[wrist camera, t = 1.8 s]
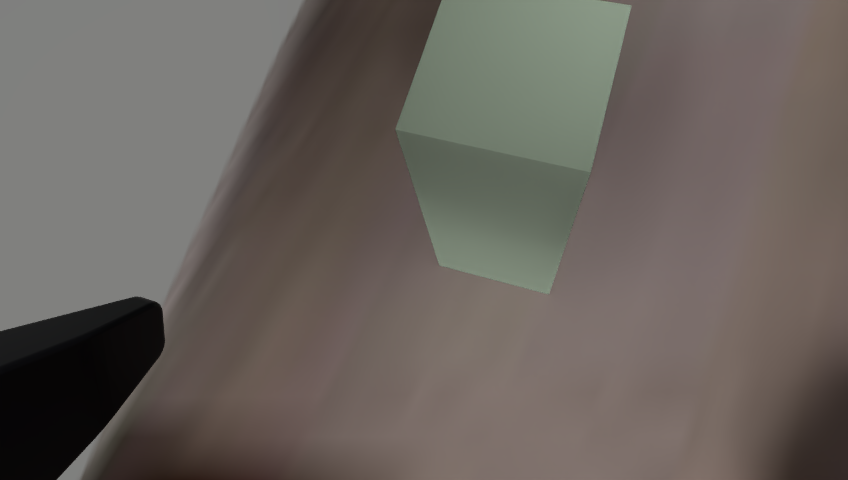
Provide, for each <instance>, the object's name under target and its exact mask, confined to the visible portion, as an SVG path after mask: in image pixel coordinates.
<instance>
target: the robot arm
mask: <svg viewBox="0 0 848 480" xmlns="http://www.w3.org/2000/svg"><path fill="white" fill-rule="evenodd" d="M164 344H165V335H164V324H163V312H162V308H161V306H160V304H158V303H157V302H155V301H151V300H148V299H145V298H142V297H132V298H128V299H124V300H120V301H116V302H112V303H108V304H105V305H101V306H97V307H93V308H89V309H85V310H81V311H78V312H73V313H70V314H66V315H62V316H58V317H54V318H50V319H47V320H42V321H38V322H35V323H31V324H27V325H23V326H19V327H15V328H11V329H7V330H4V331H0V480H57V479H58V477H59V476H60V475H61V474H62V473H63V472H64V471H65V470H66V469H67V468H68V467H69V466H70V465H71V464H72V462H73V461H74V460H75V459H76V458H77V457H78V456H79V455H80V454H81V453H82V452H83V451H84V450H85V448H86V447H87V446H88V445H89V444H90V443H91V442H92V441H93V440H94V439H95V438H96V437H97V435H98V434H99V433H100V432H101V431H102V430H103V429H104V428H105V426H106V425H107V424H108V423H109V421H110V420H111V419H112V418H113V416H114V415H115V414H116V413H117V411H118V410H119V409H120V407H121V406H122V405H123V403H124V402H125V401H126V400H127V398H128V397H129V396H130V394H131V393H132V392H133V390H134V389H135V388H136V386H137V385H138V384H139V383H140V381H141V380H142V379H143V377H144V376H145V375H146V373H147V372H148V371H149V370H150V368H151V367H152V366H153V364H154V363H155V362H156V360H157V359H158V358H159V356H160V355H161V353H162V351H163V348H164Z"/></svg>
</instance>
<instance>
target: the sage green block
mask: <svg viewBox="0 0 848 480" xmlns="http://www.w3.org/2000/svg"><path fill="white" fill-rule="evenodd" d="M631 6H632V5H625V4H619V3H613V2H606V1H600V0H442V1H441V4H440V6H439V9H438V12H437V15H436V18H435V20H434V23H433V26H432V29H431V31H430V34H429V37H428V40H427V43H426V45H425V48H424V51H423V54H422V57H421V59H420V62H419V65H418V68H417V70H416V73H415V76H414V79H413V82H412V84H411V87H410V90H409V93H408V96H407V98H406V101H405V104H404V107H403V109H402V112H401V115H400V118H399V121H398V123H397V126H396V129H395V130H396V133H397V136H398V139H399V142H400V146H401V149H402V152H403V155H404V158H405V161H406V164H407V167H408V170H409V173H410V176H411V180H412V183H413V186H414V189H415V192H416V195H417V198H418V201H419V204H420V207H421V210H422V214H423V217H424V220H425V223H426V226H427V229H428V232H429V235H430V238H431V241H432V244H433V248H434V251H435V254H436V257H437V260H438V263H439V265H440V266H443V267H447V268H451V269H455V270H458V271H462V272H466V273H470V274H474V275H477V276H481V277H485V278H489V279H492V280H496V281H500V282H504V283H507V284H511V285H515V286H519V287H523V288H526V289H530V290H534V291H538V292H541V293H545V294H549V293H550V290H551V287H552V284H553V281H554V278H555V275H556V272H557V269H558V266H559V264H560V261H561V258H562V255H563V252H564V249H565V246H566V243H567V240H568V237H569V234H570V231H571V229H572V226H573V223H574V220H575V217H576V214H577V211H578V208H579V205H580V202H581V199H582V196H583V194H584V191H585V188H586V185H587V182H588V179H589V176H590V173H591V169H592V165H593V161H594V157H595V153H596V149H597V145H598V141H599V137H600V132H601V128H602V124H603V120H604V116H605V112H606V108H607V104H608V100H609V96H610V92H611V87H612V83H613V79H614V75H615V71H616V67H617V63H618V59H619V55H620V51H621V47H622V43H623V38H624V34H625V30H626V26H627V22H628V18H629V14H630V10H631Z"/></svg>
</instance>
